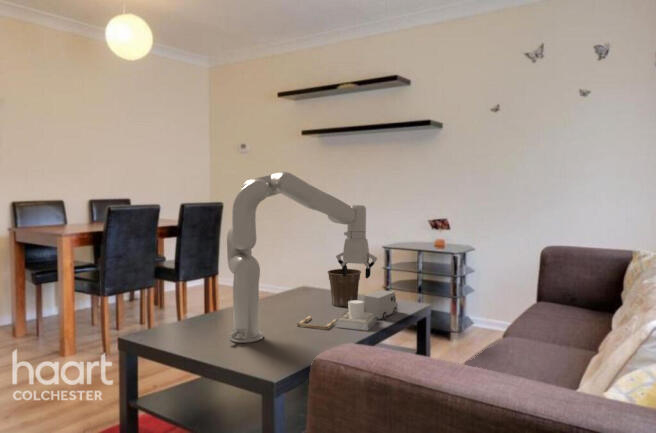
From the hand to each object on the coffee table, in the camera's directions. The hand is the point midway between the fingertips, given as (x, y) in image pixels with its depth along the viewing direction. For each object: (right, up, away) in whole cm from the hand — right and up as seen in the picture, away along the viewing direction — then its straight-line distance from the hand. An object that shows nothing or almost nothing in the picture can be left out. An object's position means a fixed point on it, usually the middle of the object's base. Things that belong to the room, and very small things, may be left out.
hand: (356, 276), depth 198 cm
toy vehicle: (+12, -19, +16) cm, 28 cm away
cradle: (-16, -20, +2) cm, 25 cm away
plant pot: (-4, -18, +35) cm, 40 cm away
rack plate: (0, -20, +1) cm, 20 cm away
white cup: (0, -18, +1) cm, 18 cm away
